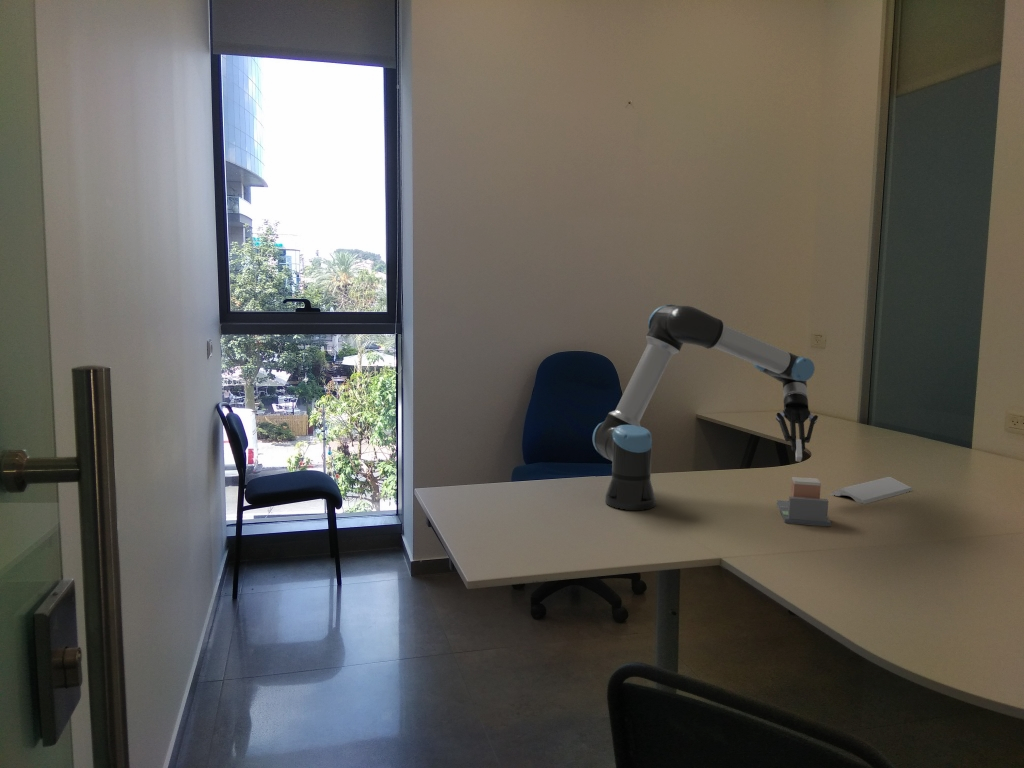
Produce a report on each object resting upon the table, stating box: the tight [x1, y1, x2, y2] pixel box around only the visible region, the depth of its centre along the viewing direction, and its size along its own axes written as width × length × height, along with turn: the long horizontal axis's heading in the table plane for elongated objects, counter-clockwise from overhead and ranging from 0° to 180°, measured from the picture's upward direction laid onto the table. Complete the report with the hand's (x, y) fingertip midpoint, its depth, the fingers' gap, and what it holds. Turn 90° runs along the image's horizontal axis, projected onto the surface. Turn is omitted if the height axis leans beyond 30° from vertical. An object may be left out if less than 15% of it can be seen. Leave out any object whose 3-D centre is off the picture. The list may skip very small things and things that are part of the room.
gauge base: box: [776, 495, 832, 528], centre depth 211 cm, size 12×19×7 cm, turn 166°
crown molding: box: [829, 476, 914, 505], centre depth 237 cm, size 29×12×4 cm, turn 124°
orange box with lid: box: [790, 476, 822, 499], centre depth 208 cm, size 7×5×10 cm
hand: (799, 459), depth 225 cm, fingers closed
